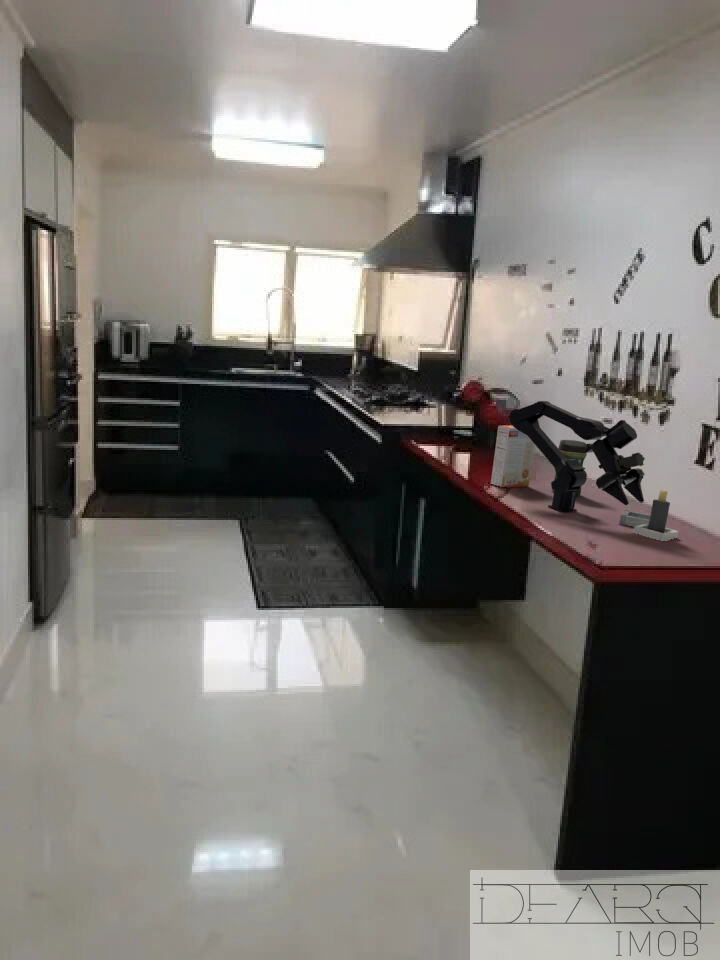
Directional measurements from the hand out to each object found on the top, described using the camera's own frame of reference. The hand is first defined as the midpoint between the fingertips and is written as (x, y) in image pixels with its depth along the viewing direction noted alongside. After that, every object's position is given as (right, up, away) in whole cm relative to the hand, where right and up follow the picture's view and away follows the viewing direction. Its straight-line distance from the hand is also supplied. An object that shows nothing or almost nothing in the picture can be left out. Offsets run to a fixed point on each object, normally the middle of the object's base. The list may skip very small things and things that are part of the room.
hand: (635, 503), depth 230 cm
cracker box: (-28, +5, +47) cm, 55 cm away
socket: (+4, -9, -4) cm, 11 cm away
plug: (+4, -9, -4) cm, 11 cm away
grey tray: (+5, -7, +7) cm, 11 cm away
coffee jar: (-9, +2, +44) cm, 45 cm away
